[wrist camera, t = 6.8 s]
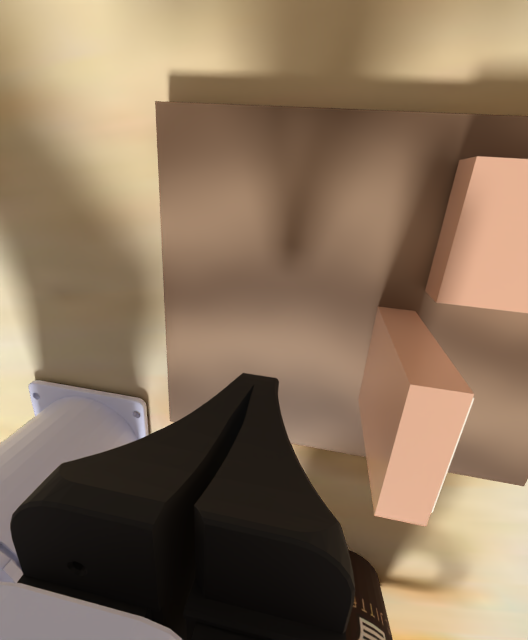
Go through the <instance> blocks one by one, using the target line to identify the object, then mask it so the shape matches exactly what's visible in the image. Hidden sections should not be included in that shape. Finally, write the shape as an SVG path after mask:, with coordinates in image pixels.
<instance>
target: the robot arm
mask: <svg viewBox="0 0 528 640" xmlns="http://www.w3.org/2000/svg"><path fill="white" fill-rule="evenodd" d="M278 388H279V381H278V379H277V378H273V377H267V376H260V375H254V374H248V373H242V374H241V375H240V376H238V377H237V378H236V379H235V380H234V381H232V382H231V383H230V384H229V385H228V386H227V387H225V388H224V389H223V390H222V391H220V392H219V393H218V394H217V395H215V396H214V397H213V398H211V399H210V400H209V401H207V402H206V403H205V404H203V405H202V406H200V407H199V408H197V409H196V410H194V411H193V412H192V413H190V414H188V415H187V416H185V417H183V418H182V419H180V420H178V421H176V422H174V423H173V424H171V425H169V426H167V427H165V428H163V429H161V430H158V431H156V432H154V433H152V434H150V435H149V434H148V421H147V408H146V403H145V402H144V400H142V399H140V398H137V397H131V396H126V395H120V394H114V393H108V392H103V391H97V390H91V389H86V388H80V387H74V386H69V385H63V384H57V383H52V382H46V381H40V380H35V381H33V382H31V383H30V384H29V392H30V396H31V401H32V405H33V409H34V414H35V417H34V418H32V419H31V420H30V421H28V422H27V423H26V424H24V425H23V426H22V427H21V428H19V429H18V430H17V431H15V432H14V433H13V434H11V435H10V436H9V437H8V438H6V439H5V440H4V441H2V442H1V443H0V640H346V629H347V625H348V622H349V618H350V615H351V611H352V608H353V604H354V599H355V582H354V575H353V570H352V565H351V560H350V556H349V552H348V548H347V544H346V541H345V538H344V535H343V531H342V528H341V525H340V523H339V522H338V521H337V519H336V518H335V517H334V516H333V514H332V513H331V512H330V510H329V509H328V508H327V506H326V505H325V504H324V502H323V501H322V499H321V498H320V496H319V495H318V493H317V492H316V490H315V489H314V487H313V486H312V484H311V482H310V481H309V479H308V477H307V475H306V474H305V472H304V470H303V468H302V467H301V465H300V463H299V461H298V459H297V456H296V454H295V452H294V450H293V448H292V445H291V443H290V440H289V438H288V435H287V432H286V429H285V426H284V422H283V419H282V415H281V410H280V405H279V399H278ZM136 411H138V412H139V413H140V414H139V413H137V412H136Z"/></svg>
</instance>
